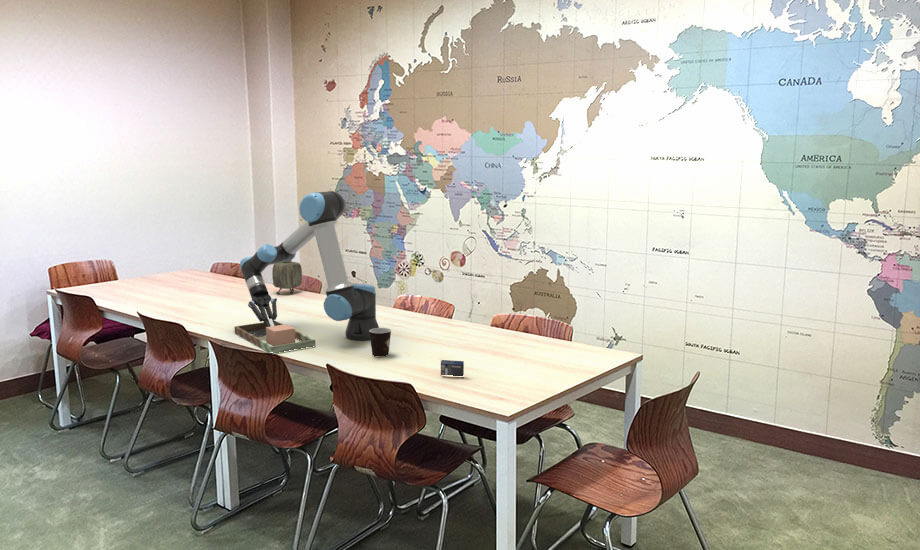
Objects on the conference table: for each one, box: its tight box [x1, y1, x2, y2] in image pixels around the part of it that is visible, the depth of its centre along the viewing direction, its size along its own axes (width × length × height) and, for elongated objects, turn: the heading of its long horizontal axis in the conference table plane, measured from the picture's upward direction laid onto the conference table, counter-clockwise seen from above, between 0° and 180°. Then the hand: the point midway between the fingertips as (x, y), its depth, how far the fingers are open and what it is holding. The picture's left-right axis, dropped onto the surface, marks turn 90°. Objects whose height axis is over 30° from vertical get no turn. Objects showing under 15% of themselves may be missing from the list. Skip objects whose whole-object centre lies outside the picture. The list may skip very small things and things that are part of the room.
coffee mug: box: [369, 327, 392, 357], centre depth 304 cm, size 12×9×10 cm
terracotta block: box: [265, 323, 296, 346], centre depth 321 cm, size 9×9×7 cm
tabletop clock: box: [271, 259, 303, 296], centre depth 424 cm, size 14×9×25 cm, turn 144°
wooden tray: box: [234, 320, 316, 354], centre depth 328 cm, size 42×19×3 cm, turn 36°
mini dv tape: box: [440, 359, 465, 376], centre depth 277 cm, size 8×2×6 cm, turn 80°
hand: (273, 333), depth 326 cm, fingers closed
